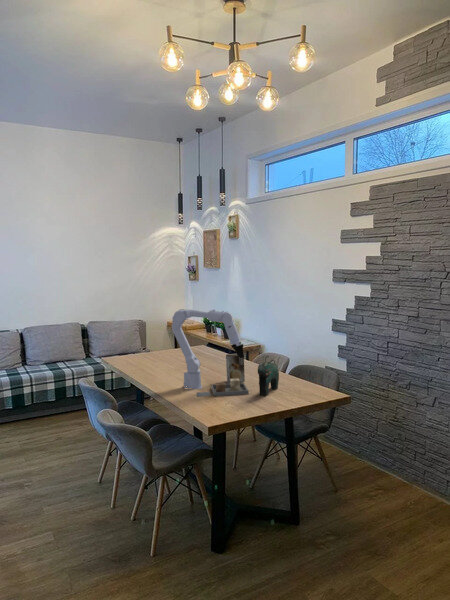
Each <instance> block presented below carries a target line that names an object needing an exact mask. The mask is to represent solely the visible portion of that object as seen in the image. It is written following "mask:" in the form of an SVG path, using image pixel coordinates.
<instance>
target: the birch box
mask: <svg viewBox="0 0 450 600" xmlns="http://www.w3.org/2000/svg"><path fill="white" fill-rule="evenodd" d="M240 383H241V382H240V380H239V379H238V378H236V379H230V383H229V384H230V390H231V391H240Z"/></svg>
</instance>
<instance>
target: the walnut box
mask: <svg viewBox="0 0 450 600" xmlns="http://www.w3.org/2000/svg"><path fill="white" fill-rule="evenodd" d="M225 384H226V383H225V382H216V383H215V385H216V392H225Z"/></svg>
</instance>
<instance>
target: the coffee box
mask: <svg viewBox="0 0 450 600" xmlns="http://www.w3.org/2000/svg"><path fill="white" fill-rule="evenodd" d="M244 358H245V356H244V357H243V358H240V357H239V356H238V355H237V353H228V354H227V353H226V354H225V363H226V365H225V366H226V382H227V383H228V384H230V379H236V378H238V379H239V380H240V383H245V381H246V379H245V377H246V376H245V359H244Z"/></svg>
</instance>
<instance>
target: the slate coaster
mask: <svg viewBox="0 0 450 600" xmlns="http://www.w3.org/2000/svg"><path fill="white" fill-rule="evenodd" d="M211 395H212V394H211V391H202V392H201V391H200V392H196V396H197V397H196V398H199V397H200V398H201V397H211Z"/></svg>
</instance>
